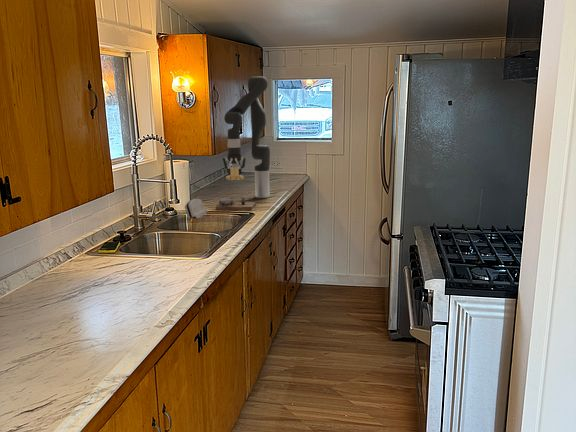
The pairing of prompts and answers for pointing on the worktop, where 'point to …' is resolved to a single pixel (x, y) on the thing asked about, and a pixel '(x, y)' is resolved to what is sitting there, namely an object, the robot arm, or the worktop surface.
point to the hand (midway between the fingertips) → (234, 174)
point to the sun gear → (226, 202)
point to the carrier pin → (243, 201)
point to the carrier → (237, 206)
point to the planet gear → (234, 174)
